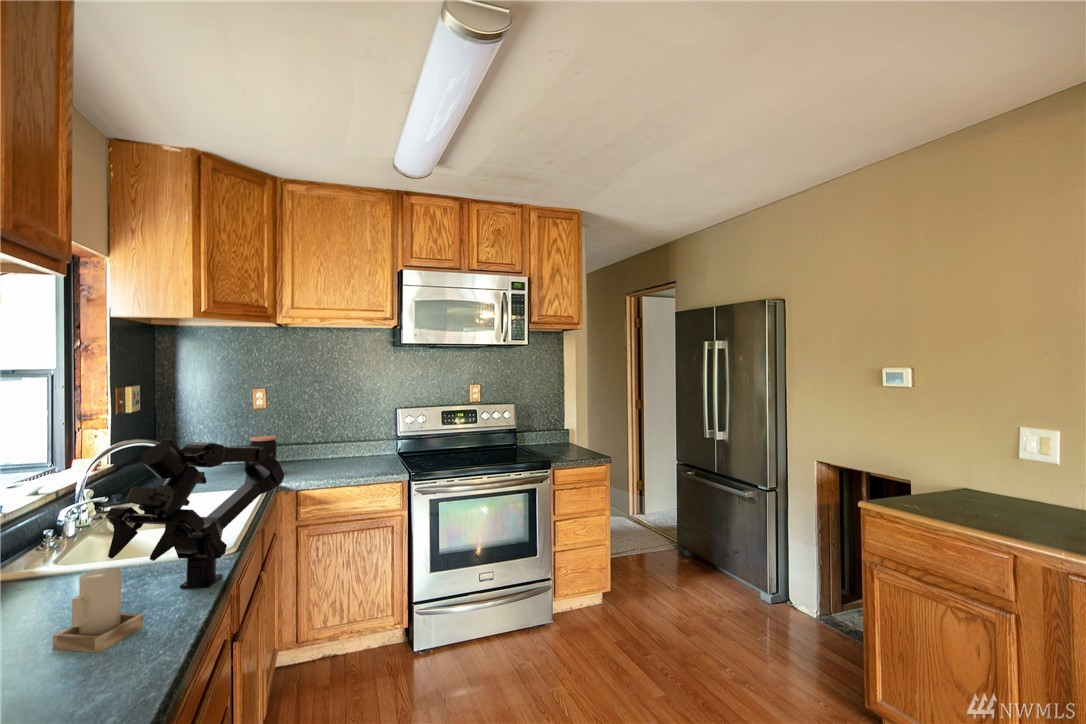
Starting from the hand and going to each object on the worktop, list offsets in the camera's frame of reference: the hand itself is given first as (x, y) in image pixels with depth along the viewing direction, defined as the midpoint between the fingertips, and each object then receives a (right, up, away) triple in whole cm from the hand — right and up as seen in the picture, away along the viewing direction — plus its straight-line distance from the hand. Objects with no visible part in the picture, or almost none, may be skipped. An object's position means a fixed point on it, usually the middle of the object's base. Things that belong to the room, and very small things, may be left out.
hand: (130, 558), depth 104 cm
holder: (-1, -13, -6) cm, 14 cm away
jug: (-1, -13, -6) cm, 14 cm away
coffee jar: (-45, -13, +132) cm, 140 cm away
